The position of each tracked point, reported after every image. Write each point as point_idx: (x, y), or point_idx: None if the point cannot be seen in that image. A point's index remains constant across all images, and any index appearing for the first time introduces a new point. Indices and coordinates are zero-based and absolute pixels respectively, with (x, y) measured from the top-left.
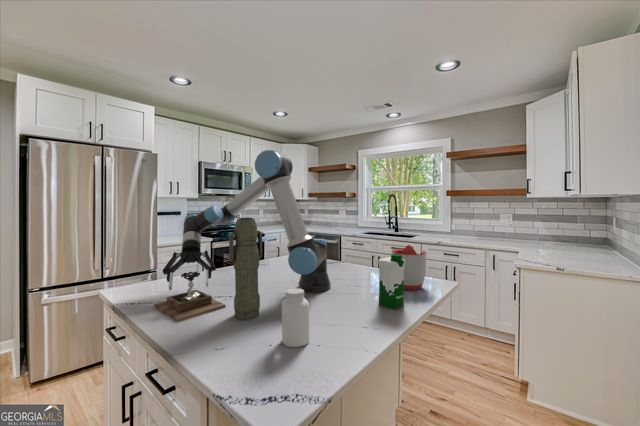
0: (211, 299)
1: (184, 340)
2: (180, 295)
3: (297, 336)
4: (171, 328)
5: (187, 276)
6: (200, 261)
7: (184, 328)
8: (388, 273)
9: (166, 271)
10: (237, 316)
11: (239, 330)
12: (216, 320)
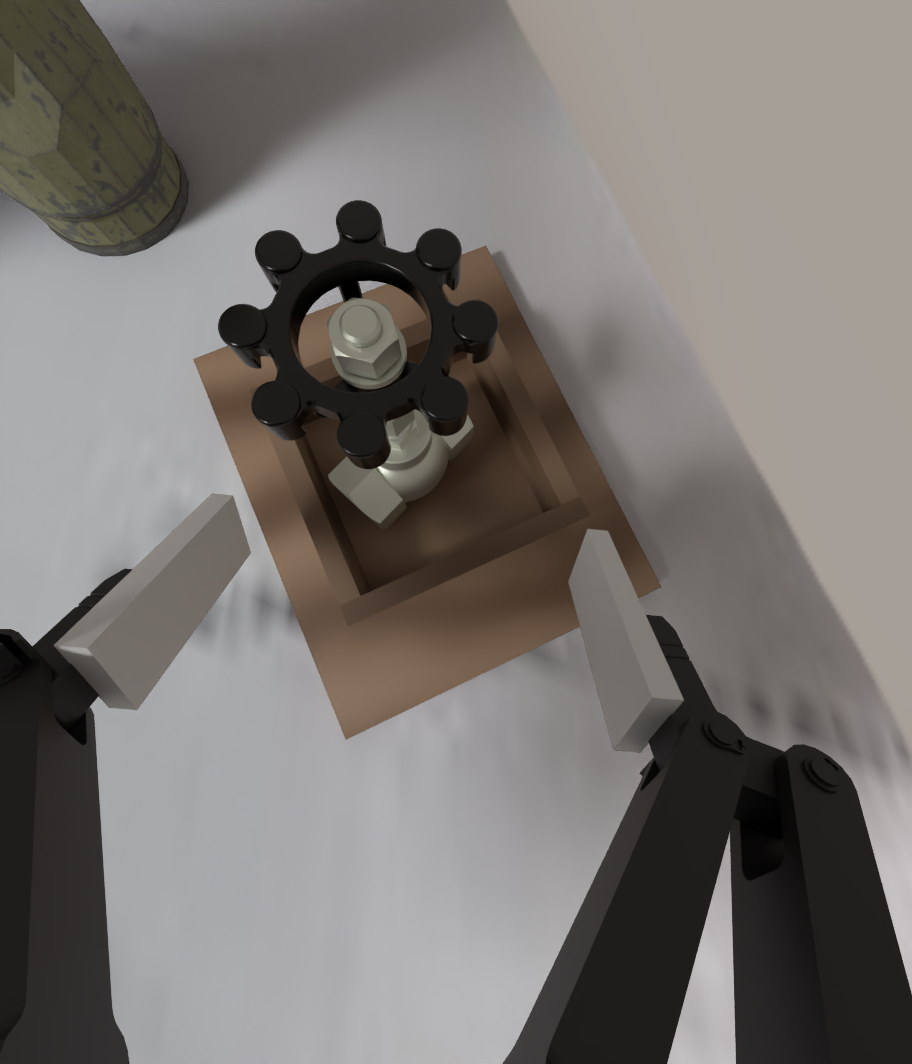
0: None
1: (447, 54)
2: (485, 540)
3: None
4: (509, 196)
5: (411, 264)
6: (15, 936)
7: (449, 170)
8: None
9: (758, 763)
10: (170, 149)
11: (206, 46)
12: (289, 198)
